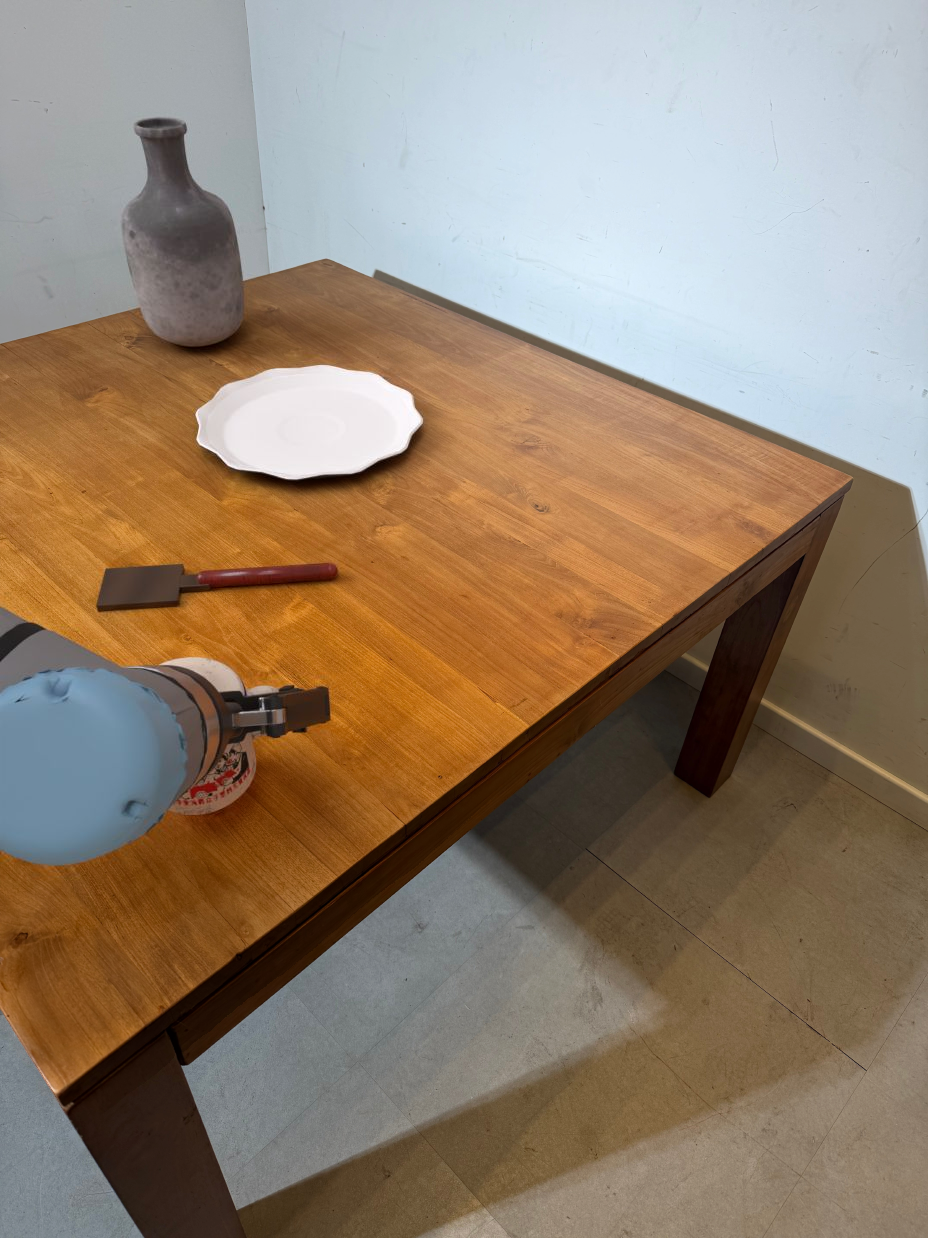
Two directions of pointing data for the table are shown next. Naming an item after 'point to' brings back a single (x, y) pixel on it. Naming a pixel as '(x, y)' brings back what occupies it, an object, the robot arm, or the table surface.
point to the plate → (308, 422)
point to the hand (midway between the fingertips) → (213, 707)
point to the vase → (181, 246)
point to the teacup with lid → (237, 758)
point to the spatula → (192, 582)
